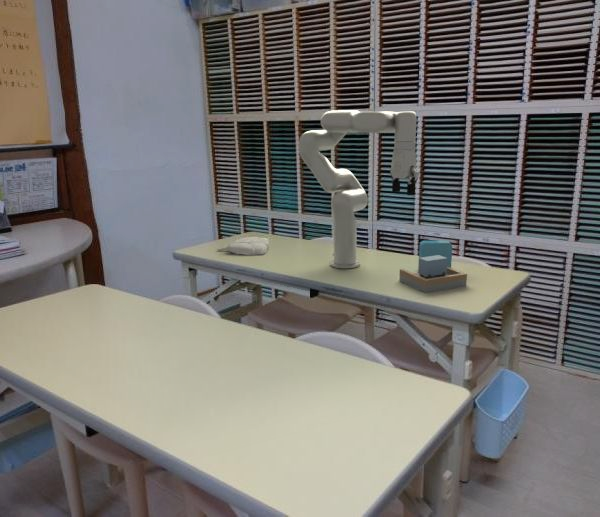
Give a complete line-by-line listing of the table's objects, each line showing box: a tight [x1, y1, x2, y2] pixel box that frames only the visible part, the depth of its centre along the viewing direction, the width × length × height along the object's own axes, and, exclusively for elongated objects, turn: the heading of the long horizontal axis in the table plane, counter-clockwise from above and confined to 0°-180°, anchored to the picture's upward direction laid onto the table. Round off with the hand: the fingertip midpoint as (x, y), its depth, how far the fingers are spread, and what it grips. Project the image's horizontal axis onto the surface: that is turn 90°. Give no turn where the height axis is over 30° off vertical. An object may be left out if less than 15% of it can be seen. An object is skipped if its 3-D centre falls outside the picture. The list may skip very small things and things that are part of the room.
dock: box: [399, 267, 468, 294], centre depth 184 cm, size 16×18×4 cm
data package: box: [418, 240, 453, 268], centre depth 199 cm, size 12×4×12 cm, turn 85°
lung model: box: [216, 236, 270, 256], centre depth 239 cm, size 7×17×25 cm
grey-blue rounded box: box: [417, 255, 448, 279], centre depth 183 cm, size 6×9×7 cm, turn 113°
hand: (403, 193), depth 186 cm, fingers open, 9 cm apart
